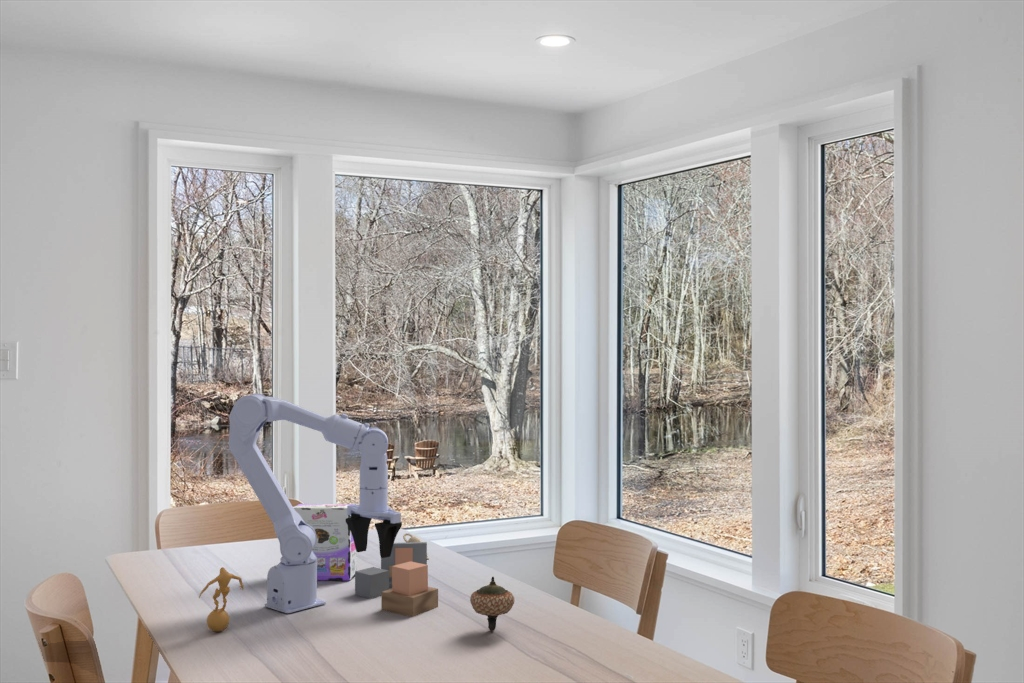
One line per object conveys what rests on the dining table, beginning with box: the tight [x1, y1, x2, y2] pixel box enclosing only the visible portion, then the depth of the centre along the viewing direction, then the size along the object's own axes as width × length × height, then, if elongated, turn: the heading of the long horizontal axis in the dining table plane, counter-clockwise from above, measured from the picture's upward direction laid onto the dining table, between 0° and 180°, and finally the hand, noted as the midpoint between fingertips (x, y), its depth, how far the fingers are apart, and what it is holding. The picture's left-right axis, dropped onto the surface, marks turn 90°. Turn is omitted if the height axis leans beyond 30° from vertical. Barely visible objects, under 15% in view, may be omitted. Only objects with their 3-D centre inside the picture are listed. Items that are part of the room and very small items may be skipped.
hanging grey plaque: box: [380, 541, 428, 589], centre depth 197 cm, size 6×10×9 cm, turn 97°
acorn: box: [469, 576, 515, 632], centre depth 164 cm, size 8×8×10 cm
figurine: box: [198, 567, 244, 633], centre depth 163 cm, size 8×6×12 cm
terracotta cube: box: [392, 561, 429, 596], centre depth 178 cm, size 5×5×5 cm
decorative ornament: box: [402, 533, 430, 560], centre depth 223 cm, size 4×8×5 cm, turn 30°
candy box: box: [293, 503, 357, 581], centre depth 203 cm, size 14×6×16 cm, turn 84°
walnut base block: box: [380, 586, 439, 618], centre depth 178 cm, size 8×8×4 cm
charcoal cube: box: [354, 566, 390, 600], centre depth 189 cm, size 5×5×5 cm
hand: (373, 554), depth 182 cm, fingers open, 7 cm apart
